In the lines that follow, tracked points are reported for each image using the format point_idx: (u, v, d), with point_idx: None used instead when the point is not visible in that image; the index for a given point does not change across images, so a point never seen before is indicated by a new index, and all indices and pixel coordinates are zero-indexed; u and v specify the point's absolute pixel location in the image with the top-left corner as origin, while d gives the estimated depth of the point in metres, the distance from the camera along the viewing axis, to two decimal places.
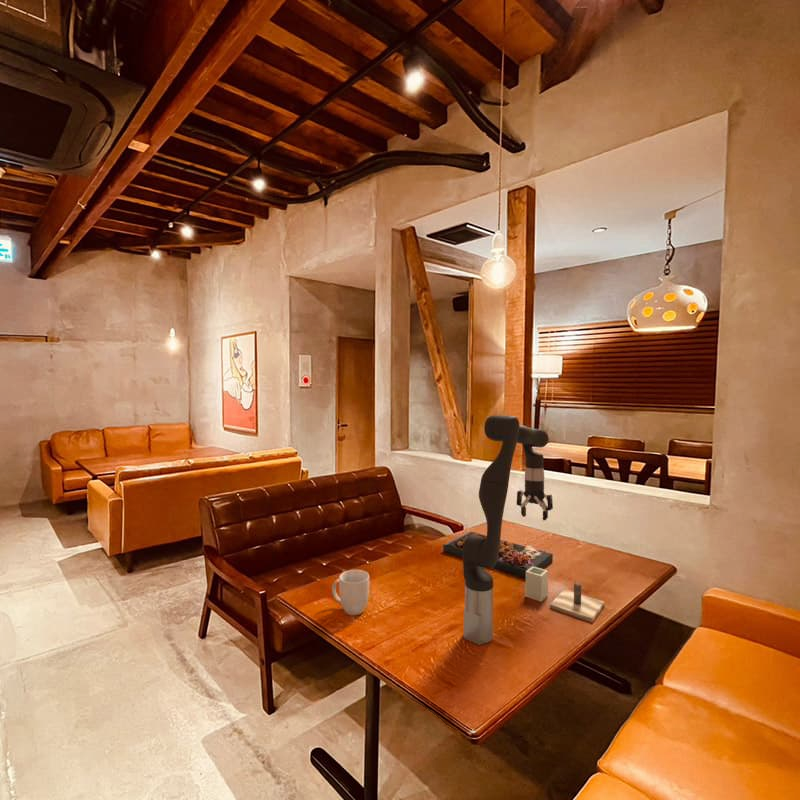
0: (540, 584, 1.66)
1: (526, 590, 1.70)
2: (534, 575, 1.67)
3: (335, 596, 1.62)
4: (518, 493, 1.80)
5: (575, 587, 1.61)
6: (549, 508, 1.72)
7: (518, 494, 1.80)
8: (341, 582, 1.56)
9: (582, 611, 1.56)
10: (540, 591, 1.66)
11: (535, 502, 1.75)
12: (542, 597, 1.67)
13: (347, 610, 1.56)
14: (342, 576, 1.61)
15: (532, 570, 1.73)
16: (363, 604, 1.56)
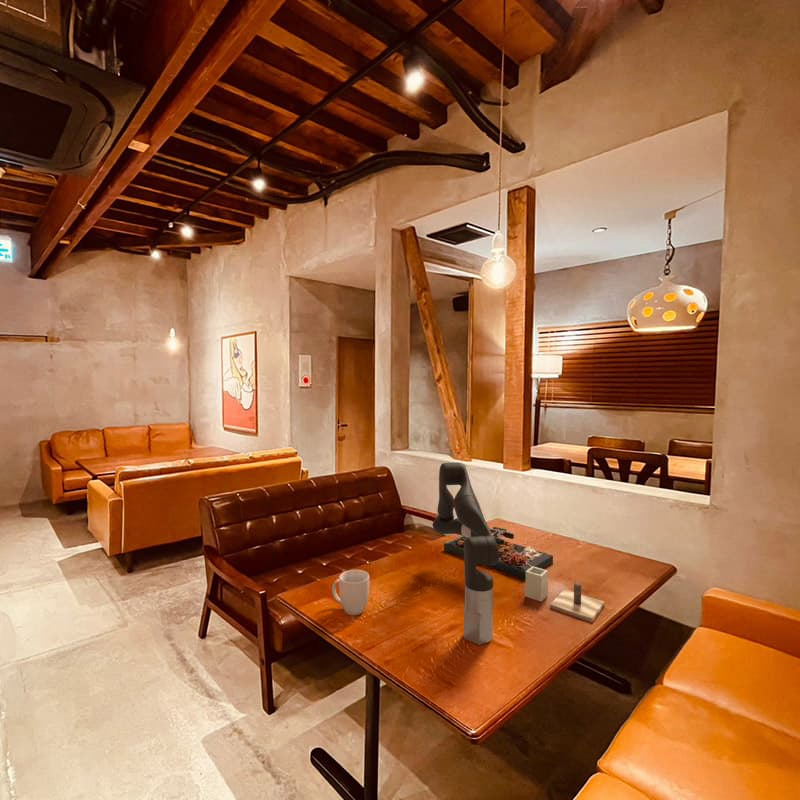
0: (540, 584, 1.66)
1: (526, 590, 1.70)
2: (534, 575, 1.67)
3: (335, 596, 1.62)
4: None
5: (575, 587, 1.61)
6: (504, 529, 1.86)
7: None
8: (341, 582, 1.56)
9: (582, 611, 1.56)
10: (540, 591, 1.66)
11: (495, 532, 1.82)
12: (542, 597, 1.67)
13: (347, 610, 1.56)
14: (342, 576, 1.61)
15: (532, 570, 1.73)
16: (363, 604, 1.56)
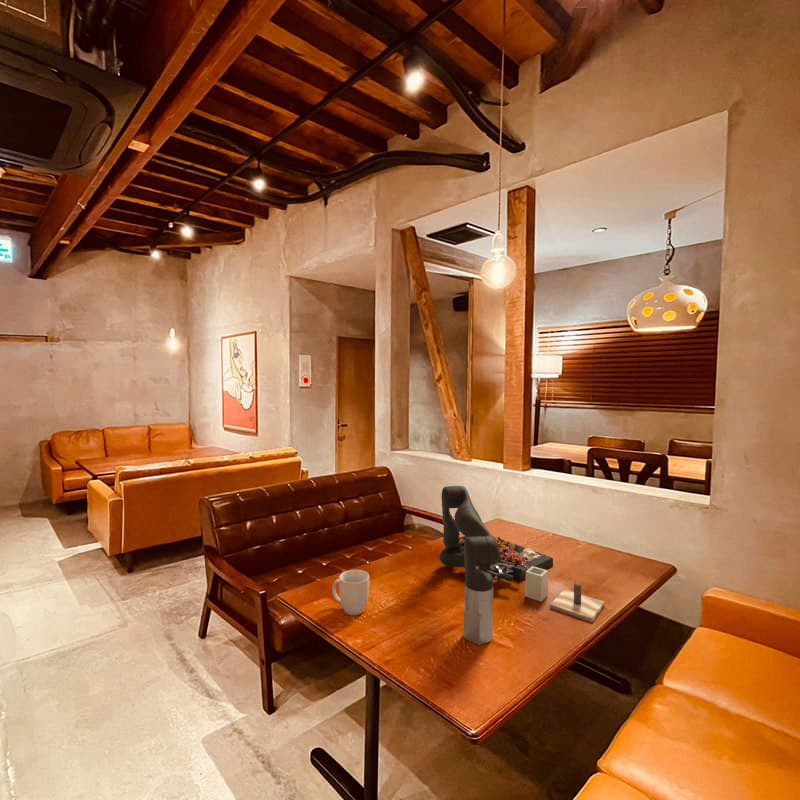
0: (540, 584, 1.66)
1: (526, 590, 1.70)
2: (534, 575, 1.67)
3: (335, 596, 1.62)
4: (489, 571, 1.77)
5: (575, 587, 1.61)
6: (512, 563, 1.84)
7: (490, 571, 1.76)
8: (341, 582, 1.56)
9: (582, 611, 1.56)
10: (540, 591, 1.66)
11: (503, 567, 1.80)
12: (542, 597, 1.67)
13: (347, 610, 1.56)
14: (342, 576, 1.61)
15: (532, 570, 1.73)
16: (363, 604, 1.56)
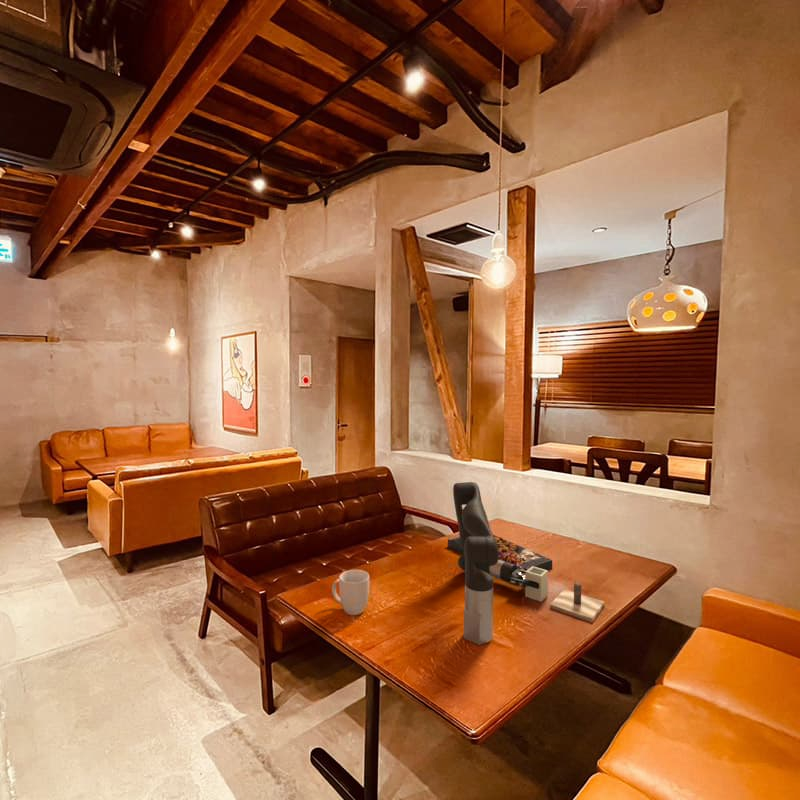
0: (540, 584, 1.66)
1: (526, 590, 1.70)
2: (534, 575, 1.67)
3: (335, 596, 1.62)
4: (513, 578, 1.70)
5: (575, 587, 1.61)
6: None
7: (514, 578, 1.70)
8: (341, 582, 1.56)
9: (582, 611, 1.56)
10: (540, 591, 1.66)
11: (525, 574, 1.74)
12: (542, 597, 1.67)
13: (347, 610, 1.56)
14: (342, 576, 1.61)
15: (532, 570, 1.73)
16: (363, 604, 1.56)
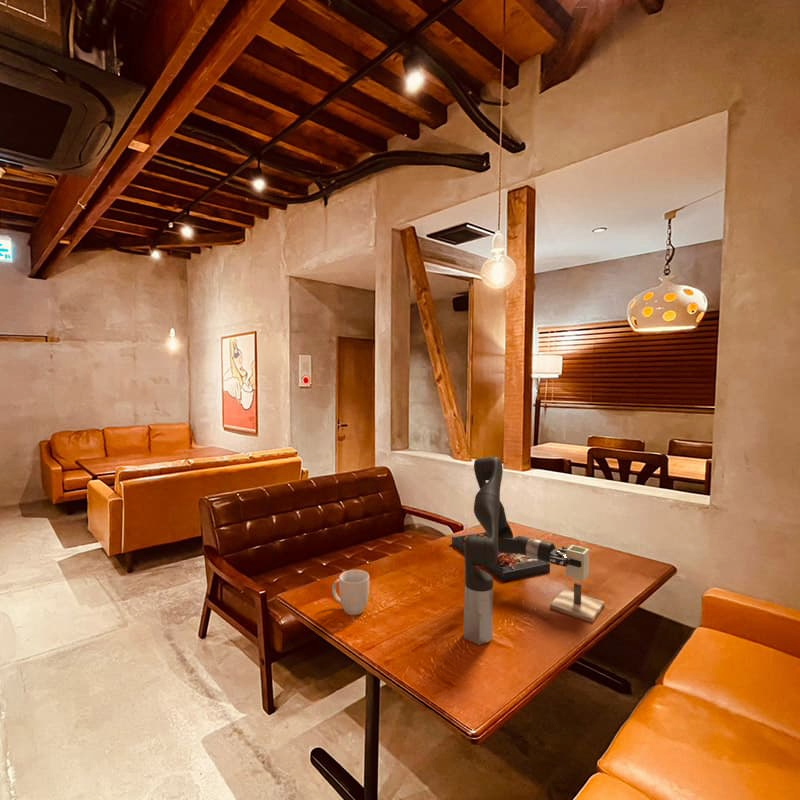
0: (582, 562, 1.58)
1: (566, 569, 1.61)
2: (576, 553, 1.59)
3: (335, 596, 1.62)
4: (552, 556, 1.62)
5: (575, 587, 1.61)
6: None
7: (553, 557, 1.61)
8: (341, 582, 1.56)
9: (582, 611, 1.56)
10: (582, 570, 1.58)
11: (564, 553, 1.65)
12: (584, 576, 1.59)
13: (347, 610, 1.56)
14: (342, 576, 1.61)
15: (572, 549, 1.64)
16: (363, 604, 1.56)
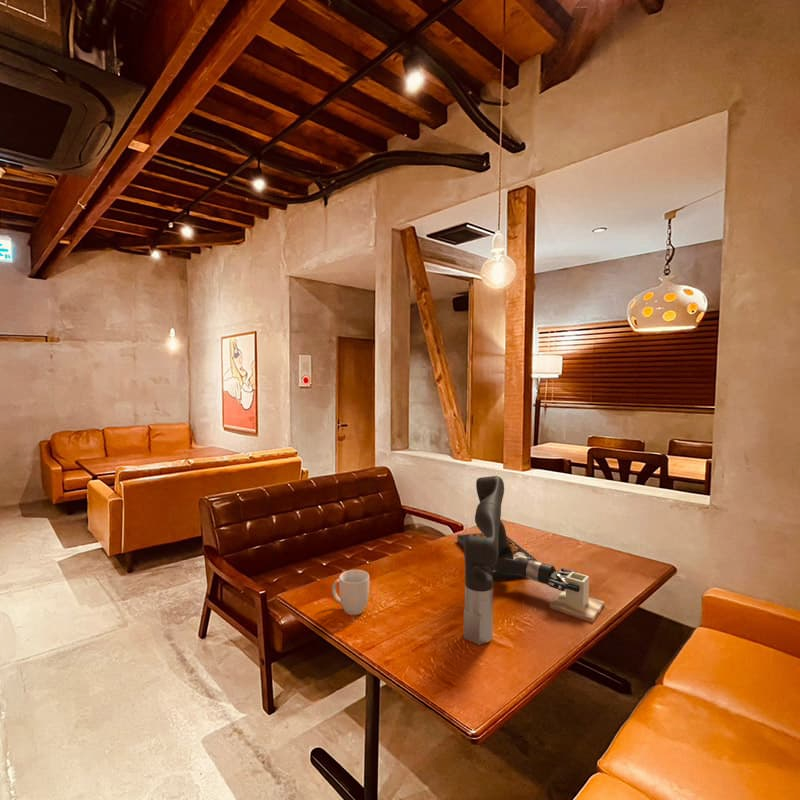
0: (582, 590, 1.58)
1: (566, 597, 1.62)
2: (575, 581, 1.59)
3: (335, 596, 1.62)
4: (551, 580, 1.62)
5: None
6: (574, 571, 1.69)
7: (552, 580, 1.62)
8: (341, 582, 1.56)
9: (582, 611, 1.56)
10: (582, 598, 1.58)
11: (565, 575, 1.66)
12: (584, 604, 1.59)
13: (347, 610, 1.56)
14: (342, 576, 1.61)
15: (572, 576, 1.64)
16: (363, 604, 1.56)
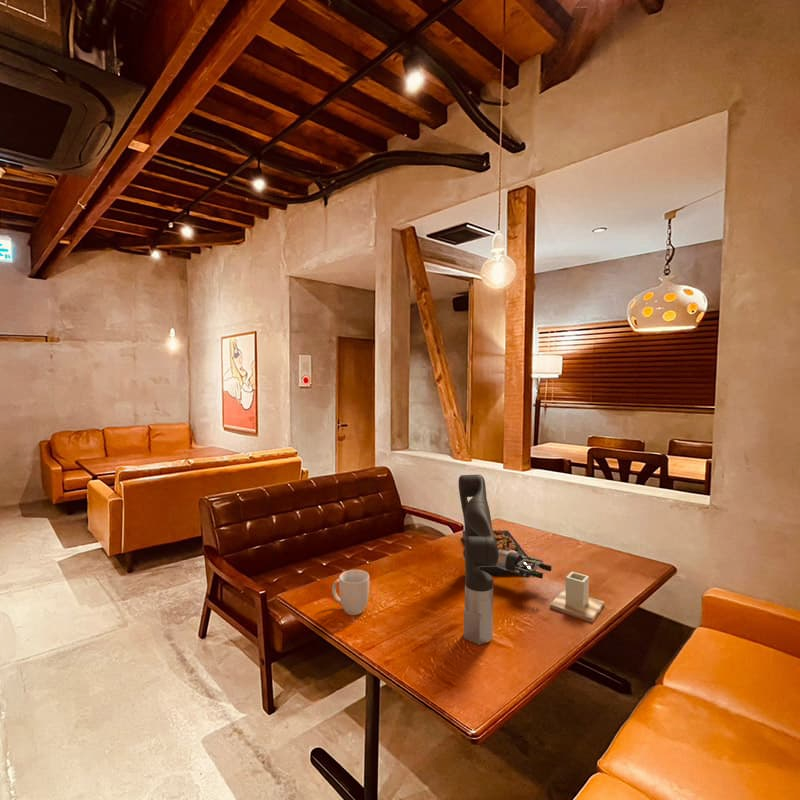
0: (582, 590, 1.58)
1: (566, 597, 1.62)
2: (575, 581, 1.59)
3: (335, 596, 1.62)
4: (517, 567, 1.71)
5: None
6: (540, 560, 1.78)
7: (518, 567, 1.70)
8: (341, 582, 1.56)
9: (582, 611, 1.56)
10: (582, 598, 1.58)
11: (531, 564, 1.74)
12: (584, 604, 1.59)
13: (347, 610, 1.56)
14: (342, 576, 1.61)
15: (572, 576, 1.64)
16: (363, 604, 1.56)
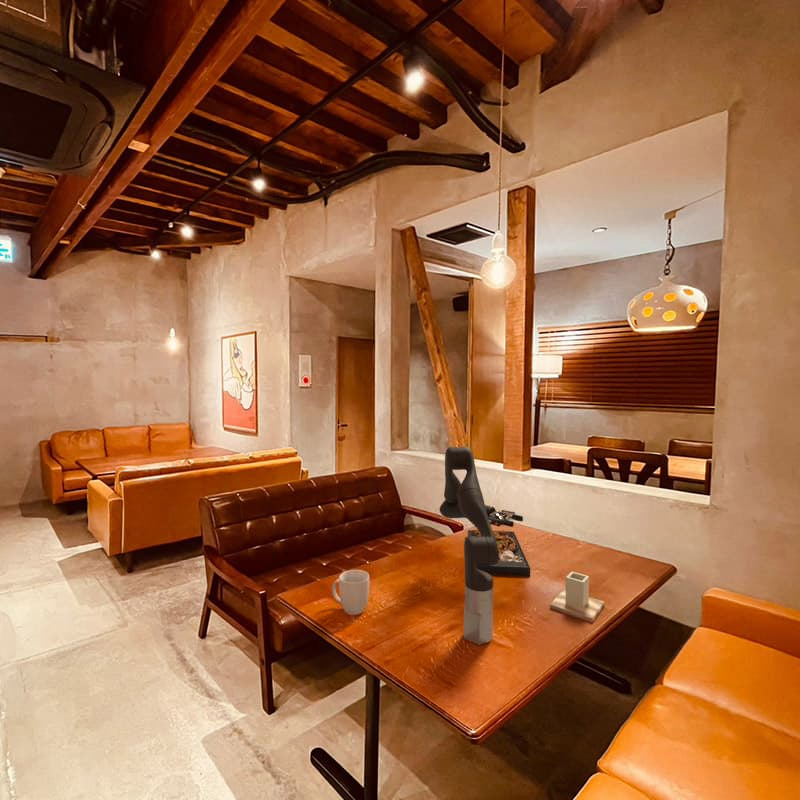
0: (582, 590, 1.58)
1: (566, 597, 1.62)
2: (575, 581, 1.59)
3: (335, 596, 1.62)
4: (489, 517, 1.76)
5: None
6: (513, 512, 1.83)
7: (490, 517, 1.76)
8: (341, 582, 1.56)
9: (582, 611, 1.56)
10: (582, 598, 1.58)
11: (503, 515, 1.80)
12: (584, 604, 1.59)
13: (347, 610, 1.56)
14: (342, 576, 1.61)
15: (572, 576, 1.64)
16: (363, 604, 1.56)
